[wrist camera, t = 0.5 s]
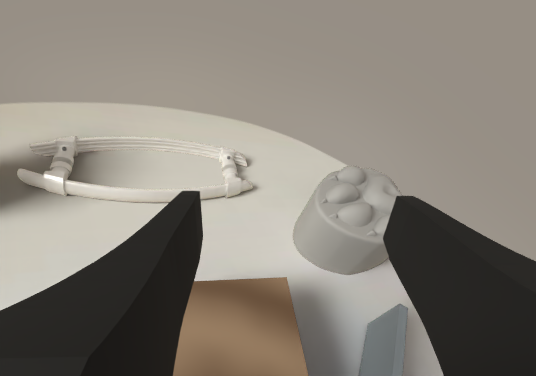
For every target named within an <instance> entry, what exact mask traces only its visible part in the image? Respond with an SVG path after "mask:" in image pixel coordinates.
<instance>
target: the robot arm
mask: <svg viewBox="0 0 536 376" xmlns="http://www.w3.org/2000/svg"><path fill="white" fill-rule="evenodd" d="M202 240H203V229H202V215H201V201H200V191H181V192H180V193H179V194H178V195H177V196H176V197H175V198H174V199H173V200H172V201H171V202H170V203H169V204H168V205H167V206H165V207H164V208H163V209H162V210H161V211H160V212H159V213H158V214H157V215H156V216H155V217H154V218H152V219H151V220H150V221H149V222H148V223H147V224H146V225H145V226H143V227H142V228H141V229H140V230H138V231H137V232H136V233H135V234H134V235H132V236H131V237H130V238H129V239H127V240H126V241H125V242H123V243H122V244H120V245H119V246H118V247H116V248H115V249H113V250H112V251H110V252H109V253H107V254H106V255H104V256H103V257H101V258H100V259H98V260H97V261H95V262H94V263H92V264H90V265H88V266H87V267H85V268H83V269H82V270H80V271H78V272H76V273H75V274H73V275H71V276H69V277H68V278H66V279H64V280H62V281H61V282H59V283H57V284H55V285H53V286H51V287H49V288H47V289H45V290H43V291H41V292H39V293H37V294H35V295H33V296H31V297H29V298H27V299H25V300H23V301H21V302H18V303H16V304H14V305H12V306H10V307H8V308H5V309H3V310H1V311H0V376H173V371H174V365H175V359H176V354H177V348H178V342H179V337H180V331H181V327H182V322H183V318H184V314H185V311H186V307H187V304H188V300H189V296H190V293H191V289H192V286H193V282H194V279H195V275H196V271H197V268H198V264H199V260H200V254H201V247H202ZM383 241H384V244H385V247H386V250H387V253H388V256H389V258H390V261H391V263H392V265H393V267H394V269H395V271H396V273H397V275H398V277H399V279H400V281H401V283H402V284H403V286H404V288H405V290H406V292H407V294H408V296H409V298H410V299H411V301H412V303H413V305H414V307H415V309H416V311H417V312H418V314H419V316H420V318H421V320H422V322H423V325H424V327H425V329H426V331H427V334H428V336H429V338H430V341H431V343H432V346H433V348H434V351H435V353H436V356H437V358H438V361H439V364H440V366H441V369H442V372H443V374H444V376H536V261H534V260H531V259H529V258H527V257H525V256H523V255H521V254H518V253H516V252H514V251H512V250H510V249H508V248H506V247H504V246H502V245H500V244H498V243H497V242H495V241H493V240H491V239H489V238H487V237H485V236H483V235H482V234H480V233H478V232H476V231H474V230H473V229H471V228H469V227H467V226H466V225H464V224H462V223H460V222H459V221H457V220H455V219H453V218H452V217H450V216H448V215H447V214H445V213H443V212H442V211H440V210H438V209H436V208H434V207H433V206H431V205H429V204H427V203H426V202H424V201H422V200H420V199H418V198H416V197H413V196H396V200H395V203H394V206H393V209H392V212H391V215H390V218H389V221H388V224H387V227H386V230H385V233H384V236H383Z"/></svg>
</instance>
